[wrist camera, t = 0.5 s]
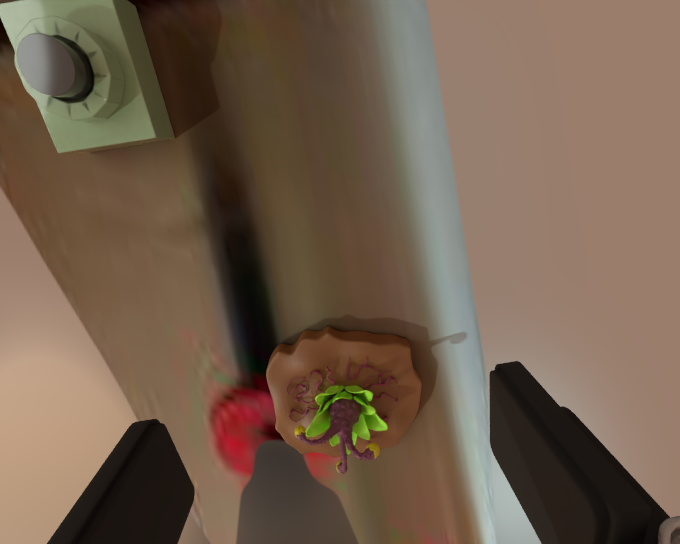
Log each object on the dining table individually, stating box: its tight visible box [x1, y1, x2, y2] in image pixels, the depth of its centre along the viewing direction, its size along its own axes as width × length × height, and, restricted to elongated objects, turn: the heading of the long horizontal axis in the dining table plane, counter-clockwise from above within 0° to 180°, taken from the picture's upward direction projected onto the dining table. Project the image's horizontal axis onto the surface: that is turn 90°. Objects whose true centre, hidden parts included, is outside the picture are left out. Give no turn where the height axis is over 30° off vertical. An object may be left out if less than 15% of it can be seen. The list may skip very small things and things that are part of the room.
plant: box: [266, 326, 422, 474], centre depth 40 cm, size 20×20×11 cm
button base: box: [0, 0, 175, 153], centre depth 28 cm, size 11×9×6 cm
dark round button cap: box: [17, 33, 93, 100], centre depth 25 cm, size 4×4×2 cm
